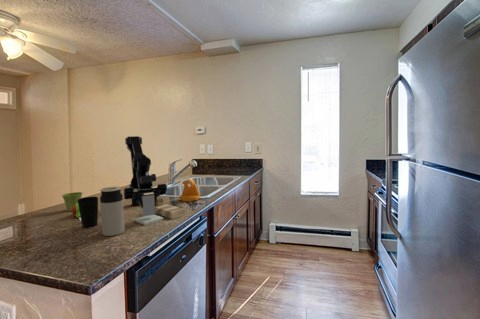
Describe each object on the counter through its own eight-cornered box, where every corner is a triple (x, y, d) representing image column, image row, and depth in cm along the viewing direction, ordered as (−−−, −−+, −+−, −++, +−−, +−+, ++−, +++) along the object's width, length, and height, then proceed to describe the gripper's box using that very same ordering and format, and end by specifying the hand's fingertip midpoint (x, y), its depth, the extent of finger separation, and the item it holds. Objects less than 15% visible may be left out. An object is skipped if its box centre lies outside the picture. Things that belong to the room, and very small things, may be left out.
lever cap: (142, 214, 118) (141, 194, 117) (153, 212, 120) (152, 193, 120) (143, 216, 115) (142, 196, 114) (155, 214, 117) (154, 195, 116)
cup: (78, 230, 107) (76, 201, 106) (80, 224, 113) (78, 198, 112) (99, 226, 110) (97, 199, 109) (100, 221, 117) (98, 195, 116)
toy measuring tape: (87, 212, 134) (86, 199, 133) (91, 221, 118) (89, 207, 117) (72, 214, 130) (71, 201, 130) (74, 224, 114) (73, 210, 114)
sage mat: (134, 220, 117) (134, 218, 117) (152, 216, 124) (152, 214, 124) (145, 225, 111) (144, 222, 111) (163, 219, 118) (163, 217, 118)
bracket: (178, 201, 152) (177, 181, 150) (183, 198, 159) (182, 179, 158) (196, 201, 150) (195, 181, 149) (200, 198, 157) (199, 179, 156)
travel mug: (110, 238, 97) (106, 191, 96) (98, 234, 102) (95, 189, 100) (128, 231, 104) (126, 187, 103) (117, 228, 108) (114, 185, 107)
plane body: (149, 211, 132) (148, 198, 131) (161, 208, 137) (161, 196, 137) (172, 218, 119) (171, 205, 118) (184, 215, 124) (184, 201, 124)
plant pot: (58, 211, 135) (57, 195, 135) (76, 206, 144) (74, 191, 143) (71, 213, 132) (69, 196, 131) (87, 208, 141) (86, 192, 140)
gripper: (122, 170, 114) (126, 199, 106) (165, 166, 123) (172, 194, 115) (122, 184, 122) (126, 213, 113) (162, 180, 131) (168, 207, 122)
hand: (148, 206), depth 116 cm, fingers closed on lever cap, 5 cm apart
